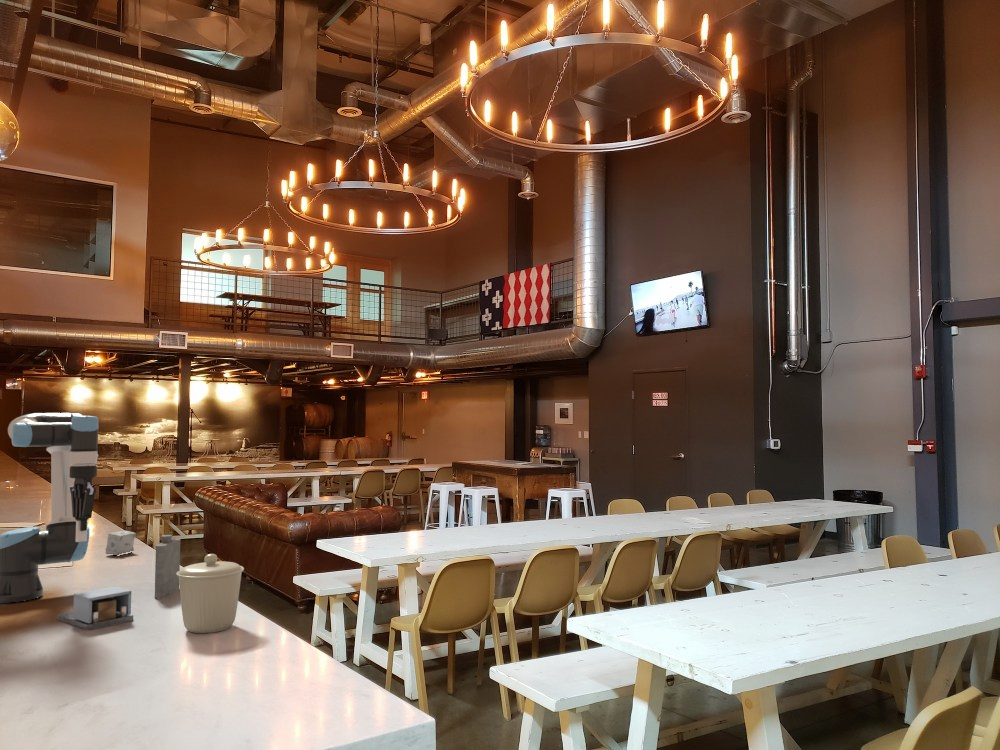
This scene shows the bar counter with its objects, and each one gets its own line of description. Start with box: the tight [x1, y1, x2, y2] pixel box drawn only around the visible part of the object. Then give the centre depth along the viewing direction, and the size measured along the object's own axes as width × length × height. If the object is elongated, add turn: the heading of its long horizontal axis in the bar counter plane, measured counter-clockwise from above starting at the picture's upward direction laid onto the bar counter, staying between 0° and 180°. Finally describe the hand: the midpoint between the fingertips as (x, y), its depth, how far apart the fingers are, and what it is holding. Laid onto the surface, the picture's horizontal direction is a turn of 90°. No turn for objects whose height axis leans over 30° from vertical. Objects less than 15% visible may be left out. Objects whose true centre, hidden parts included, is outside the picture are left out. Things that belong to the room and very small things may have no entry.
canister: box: [176, 553, 245, 634], centre depth 208 cm, size 18×18×21 cm
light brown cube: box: [92, 598, 116, 621], centre depth 215 cm, size 5×5×5 cm
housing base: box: [56, 606, 134, 631], centre depth 218 cm, size 20×13×4 cm, turn 53°
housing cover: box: [72, 586, 132, 623], centre depth 216 cm, size 10×12×7 cm
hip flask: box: [154, 534, 181, 599], centre depth 254 cm, size 16×4×20 cm, turn 3°
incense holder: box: [105, 530, 137, 556], centre depth 331 cm, size 10×8×10 cm
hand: (81, 541), depth 226 cm, fingers closed
